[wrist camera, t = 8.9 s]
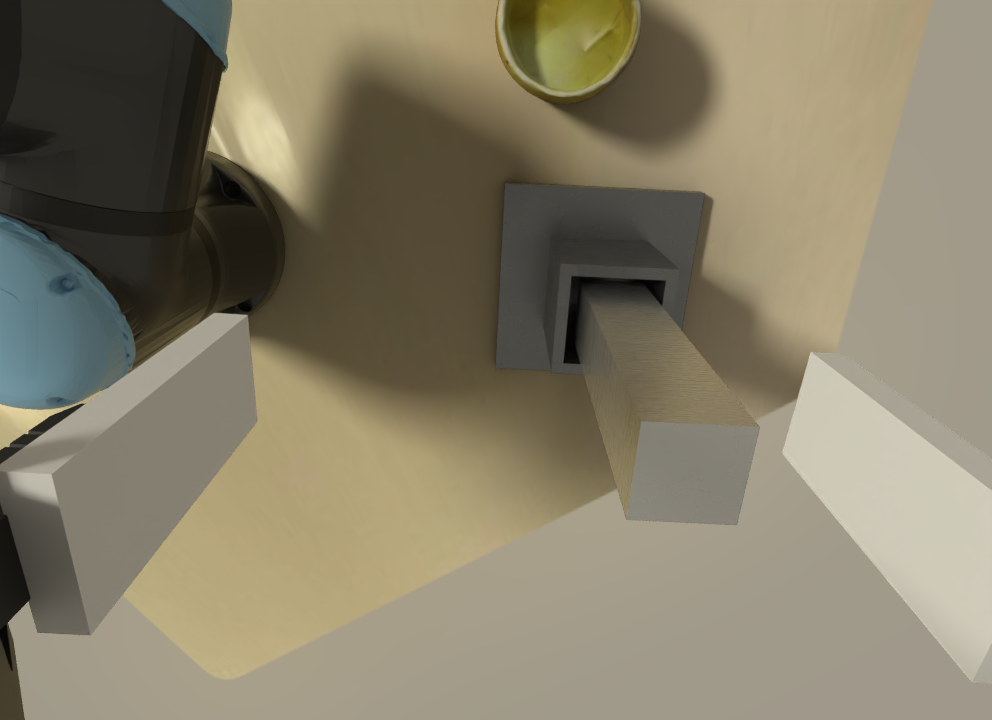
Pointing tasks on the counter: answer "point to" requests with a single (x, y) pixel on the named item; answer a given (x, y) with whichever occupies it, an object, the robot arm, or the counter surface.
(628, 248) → the stand
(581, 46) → the mug
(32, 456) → the robot arm
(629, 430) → the column
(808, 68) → the counter surface
